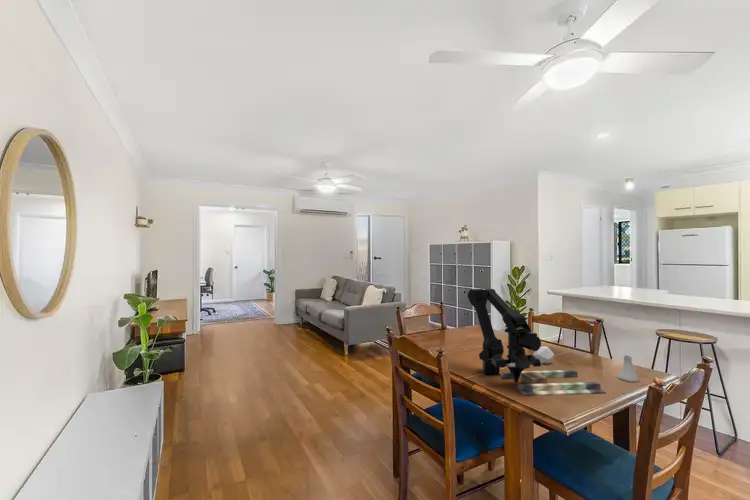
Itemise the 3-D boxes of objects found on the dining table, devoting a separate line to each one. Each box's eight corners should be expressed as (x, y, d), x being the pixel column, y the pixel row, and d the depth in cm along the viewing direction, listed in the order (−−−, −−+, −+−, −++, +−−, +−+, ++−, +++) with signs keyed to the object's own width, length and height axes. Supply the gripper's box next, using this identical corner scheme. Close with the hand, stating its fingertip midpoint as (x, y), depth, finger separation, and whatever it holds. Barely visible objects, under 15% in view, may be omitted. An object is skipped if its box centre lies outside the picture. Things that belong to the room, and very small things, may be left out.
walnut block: (531, 388, 139) (531, 378, 139) (521, 382, 146) (521, 372, 146) (547, 387, 140) (547, 377, 140) (536, 380, 147) (536, 371, 147)
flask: (632, 383, 143) (632, 359, 143) (614, 378, 149) (613, 355, 149) (642, 380, 146) (641, 357, 146) (623, 375, 152) (623, 352, 153)
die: (552, 368, 164) (559, 350, 167) (535, 358, 165) (542, 340, 168) (544, 368, 172) (551, 351, 175) (528, 359, 173) (535, 342, 176)
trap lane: (524, 395, 131) (524, 389, 131) (499, 375, 153) (499, 369, 153) (606, 393, 133) (606, 386, 133) (570, 373, 155) (570, 367, 155)
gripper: (502, 350, 134) (502, 390, 134) (548, 349, 135) (548, 389, 135) (490, 343, 145) (491, 379, 145) (533, 342, 146) (533, 378, 146)
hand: (515, 382), depth 142 cm, fingers closed
